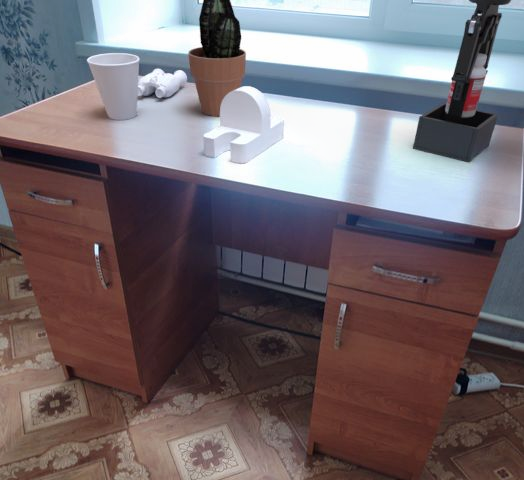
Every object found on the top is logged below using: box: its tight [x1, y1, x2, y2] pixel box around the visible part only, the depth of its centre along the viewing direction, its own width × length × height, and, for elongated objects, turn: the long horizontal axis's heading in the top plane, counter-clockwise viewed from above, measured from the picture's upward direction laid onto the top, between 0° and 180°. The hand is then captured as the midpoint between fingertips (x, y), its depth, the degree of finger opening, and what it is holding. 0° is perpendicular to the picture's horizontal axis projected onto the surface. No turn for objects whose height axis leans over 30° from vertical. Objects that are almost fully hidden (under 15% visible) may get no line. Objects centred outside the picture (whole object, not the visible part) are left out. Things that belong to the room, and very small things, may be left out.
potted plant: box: [187, 0, 247, 117], centre depth 120 cm, size 14×14×25 cm
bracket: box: [202, 85, 285, 164], centre depth 106 cm, size 19×10×11 cm, turn 152°
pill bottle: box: [445, 53, 487, 118], centre depth 103 cm, size 6×6×11 cm
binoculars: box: [137, 68, 188, 99], centre depth 138 cm, size 10×16×5 cm, turn 168°
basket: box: [412, 102, 499, 163], centre depth 109 cm, size 13×13×7 cm
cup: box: [86, 52, 141, 121], centre depth 120 cm, size 12×12×12 cm
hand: (460, 112), depth 106 cm, fingers closed on pill bottle, 6 cm apart
